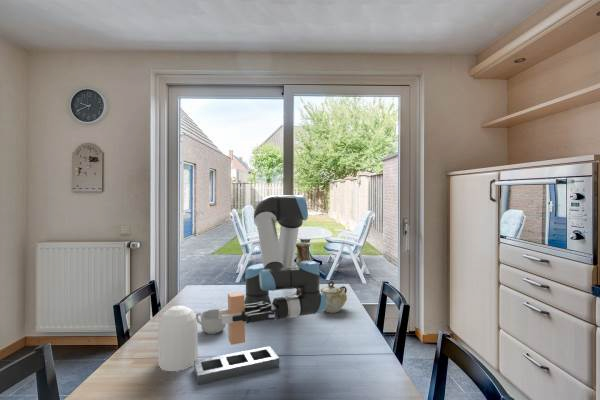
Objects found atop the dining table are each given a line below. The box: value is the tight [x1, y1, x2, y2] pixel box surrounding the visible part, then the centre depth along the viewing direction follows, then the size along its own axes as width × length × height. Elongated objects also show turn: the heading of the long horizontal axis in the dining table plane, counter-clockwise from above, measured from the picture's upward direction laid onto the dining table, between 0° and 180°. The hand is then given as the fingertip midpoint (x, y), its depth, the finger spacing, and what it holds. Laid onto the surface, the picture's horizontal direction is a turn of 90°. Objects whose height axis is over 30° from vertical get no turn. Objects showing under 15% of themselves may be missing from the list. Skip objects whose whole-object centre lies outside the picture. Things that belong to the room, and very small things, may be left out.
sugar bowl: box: [319, 280, 348, 314], centre depth 176 cm, size 20×15×15 cm
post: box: [227, 291, 246, 346], centre depth 118 cm, size 5×5×16 cm
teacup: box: [195, 308, 226, 335], centre depth 151 cm, size 14×11×8 cm
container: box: [157, 305, 199, 372], centre depth 123 cm, size 14×13×20 cm
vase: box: [295, 241, 311, 295], centre depth 207 cm, size 10×11×30 cm
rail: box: [193, 345, 280, 386], centre depth 119 cm, size 10×27×3 cm, turn 114°
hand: (220, 317), depth 116 cm, fingers closed on post, 5 cm apart
